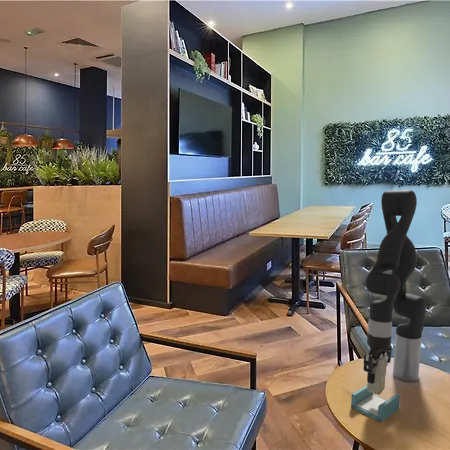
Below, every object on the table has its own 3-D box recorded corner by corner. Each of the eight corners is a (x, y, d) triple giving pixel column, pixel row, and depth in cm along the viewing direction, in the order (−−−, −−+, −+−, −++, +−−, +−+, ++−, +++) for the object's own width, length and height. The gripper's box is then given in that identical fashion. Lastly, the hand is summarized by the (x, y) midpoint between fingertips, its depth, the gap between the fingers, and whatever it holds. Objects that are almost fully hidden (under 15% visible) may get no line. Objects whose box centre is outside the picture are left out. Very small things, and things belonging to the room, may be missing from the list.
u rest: (369, 395, 150) (370, 382, 149) (399, 408, 142) (400, 395, 141) (350, 407, 142) (351, 393, 141) (381, 422, 134) (381, 407, 133)
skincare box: (379, 395, 137) (382, 360, 136) (366, 391, 140) (368, 357, 138) (385, 388, 142) (387, 354, 141) (371, 384, 145) (374, 350, 143)
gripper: (380, 324, 146) (377, 369, 148) (357, 333, 137) (354, 381, 139) (401, 330, 140) (397, 377, 142) (378, 341, 131) (375, 390, 133)
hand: (376, 379), depth 140 cm, fingers closed on skincare box, 7 cm apart
